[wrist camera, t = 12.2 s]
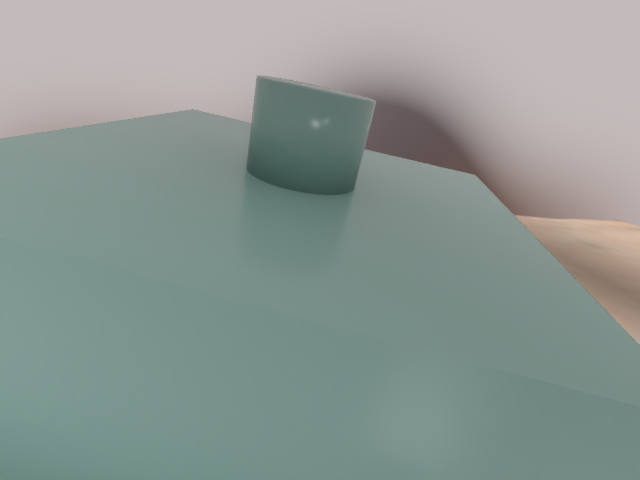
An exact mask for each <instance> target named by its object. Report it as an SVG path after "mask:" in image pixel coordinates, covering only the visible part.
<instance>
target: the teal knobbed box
mask: <svg viewBox="0 0 640 480" xmlns="http://www.w3.org/2000/svg"><path fill="white" fill-rule="evenodd" d="M375 104H376V101H375V100H372V99H369V98H366V97H362V96H359V95H355V94H351V93H347V92H343V91H339V90H335V89H331V88H326V87H322V86H317V85H312V84H308V83H303V82H298V81H293V80H287V79H282V78H276V77H268V76H257V79H256V88H255V96H254V105H253V113H252V123H249V122H244V121H240V120H236V119H232V118H228V117H223V116H219V115H214V114H210V113H206V112H202V111H198V110H193V109H192V110H185V111H179V112H172V113H166V114H160V115H153V116H146V117H140V118H134V119H127V120H120V121H114V122H107V123H100V124H94V125H88V126H81V127H74V128H67V129H61V130H54V131H48V132H41V133H35V134H28V135H22V136H15V137H8V138H2V139H0V480H640V345H639V344H638V343H637V342H636V341H635V340H634V339H633V338H632V337H631V336H630V335H629V334H628V333H627V332H626V331H625V330H624V329H623V328H622V327H621V326H620V325H619V323H618V322H617V321H616V320H615V319H614V318H613V317H612V316H611V315H610V314H609V313H608V312H607V311H606V310H605V309H604V308H603V307H602V306H601V305H600V304H599V303H598V302H597V301H596V300H595V299H594V298H593V297H592V296H591V294H590V293H589V292H588V291H587V290H586V289H585V288H584V287H583V286H582V285H581V284H580V283H579V282H578V281H577V280H576V279H575V278H574V277H573V276H572V275H571V274H570V273H569V272H568V271H567V270H566V269H565V268H564V267H563V265H562V264H561V263H560V262H559V261H558V260H557V259H556V258H555V257H554V256H553V255H552V254H551V253H550V252H549V251H548V250H547V249H546V248H545V247H544V246H543V245H542V244H541V243H540V242H539V241H538V240H537V239H536V238H535V236H534V235H533V234H532V233H531V232H530V231H529V230H528V229H527V228H526V227H525V226H524V225H523V224H522V223H521V222H520V221H519V220H518V219H517V218H516V217H515V216H514V215H513V214H512V213H511V212H510V211H509V210H508V209H507V208H506V207H505V205H503V203H502V202H501V201H500V200H499V199H498V198H497V197H496V196H495V195H494V194H493V193H492V192H491V191H490V190H489V189H488V188H487V187H486V186H485V185H484V184H483V183H482V182H481V181H480V180H479V179H478V178H477V176H476V175H472V174H468V173H464V172H459V171H455V170H451V169H446V168H442V167H438V166H433V165H429V164H425V163H420V162H416V161H412V160H408V159H404V158H399V157H395V156H391V155H386V154H382V153H378V152H374V151H369V150H365V145H366V141H367V137H368V132H369V128H370V124H371V120H372V116H373V112H374V108H375Z"/></svg>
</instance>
